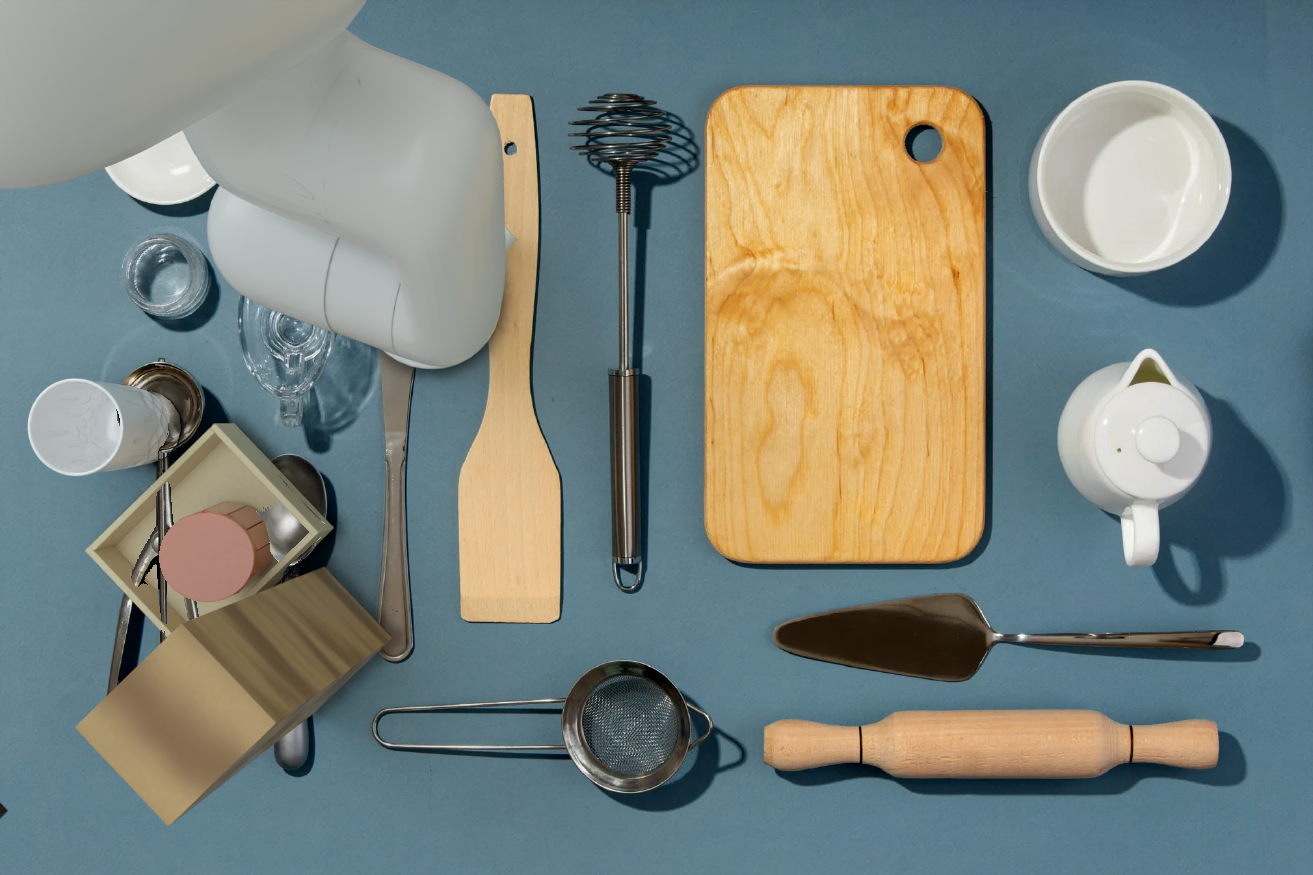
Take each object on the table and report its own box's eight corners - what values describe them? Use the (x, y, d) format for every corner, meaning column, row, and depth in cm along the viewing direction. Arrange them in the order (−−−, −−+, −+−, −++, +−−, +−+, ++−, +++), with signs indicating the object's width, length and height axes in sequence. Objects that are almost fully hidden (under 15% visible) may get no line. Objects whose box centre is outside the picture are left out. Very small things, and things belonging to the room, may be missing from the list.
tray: (234, 423, 85) (214, 423, 81) (334, 527, 85) (318, 532, 81) (109, 545, 85) (84, 550, 82) (208, 649, 85) (187, 659, 82)
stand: (324, 566, 85) (181, 623, 61) (392, 638, 85) (276, 723, 61) (246, 641, 85) (74, 727, 61) (314, 713, 85) (168, 827, 61)
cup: (273, 550, 78) (292, 537, 84) (198, 494, 77) (222, 485, 83) (215, 620, 78) (238, 602, 84) (139, 565, 77) (167, 551, 83)
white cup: (192, 387, 85) (127, 383, 75) (185, 473, 85) (118, 480, 75) (108, 379, 85) (31, 373, 75) (100, 465, 85) (23, 471, 75)
